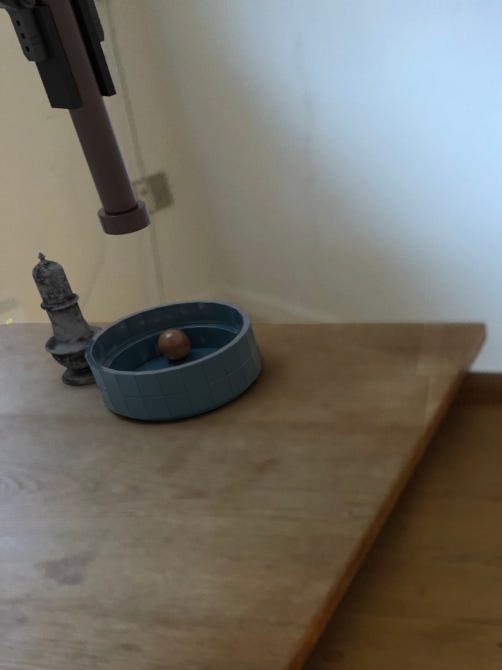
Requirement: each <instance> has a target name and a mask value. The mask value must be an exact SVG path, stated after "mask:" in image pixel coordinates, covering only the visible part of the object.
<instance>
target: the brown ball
mask: <svg viewBox="0 0 502 670" xmlns="http://www.w3.org/2000/svg"><path fill="white" fill-rule="evenodd" d="M158 347H159V350H160V352H161V353H162V354H163V355H164V356H165V357H166V358H168V359H170V360H174V361H176V360H181V359H183V358H185V357H186V356H187V355H188V353H189V351H190V341H189V339H188V337H187V335H186V334H185V333H184V332H182V331H181V330H178V329H167V330H165V331H164V332H163V333H162V334H161V335H160V337H159V340H158Z"/></svg>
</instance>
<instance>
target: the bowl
mask: <svg viewBox="0 0 502 670" xmlns="http://www.w3.org/2000/svg"><path fill="white" fill-rule="evenodd" d="M102 328H103V329H102V330H101V331H99V332H98V333H97V334H96V335H94V336H93V338H92V339H91V341H90V342H89V343H88V345H87V346H86V351H85V358H86V360H87V363H88V365H89V368H90V370H91V373H92V375H93V377H94V380H95V382H94V383H95V386H96V387H97V390H98V392H99V395H100V398H101V400H102V401H103V403H104V405H105V407H106V408H108V409H109V410H110V411H111V412H113V413H115V414H117V415H119V416H120V415H121V416H124V417H128V418H130V419H136V420H139V421H147V422H149V421H150V422H152V421H153V422H161V421H173V420H179V419H184V418H185V419H186V418H190V417H194V416H197V415H201V414H204V413H208V412H210V411H213V410H215V409H217V408H220V407H222V406H224V405H226V404H228V403H230V402H232V401H233V400H234V399H237V398H238V397H239V396H240V395H242V394H243V393H244V392H245V391H246V390H247V389H248V388H249V387H250V386H251V385H252V384H253V383H254V381H255V380H256V379H257V378H258V377H259V374H260V372H261V370H262V367H263V363H262V358H261V354H260V353H261V352H260V350H259V346H258V343H257V339H256V335H255V331H254V328H253V324H252V320H251V317H250V314H249V313H248V312H247V311H246V310H245V309H244V308H243V307H241V306H239V305H238V304H235V303H232V302H229V301H224V300H219V299H188V300H179V301H177V300H176V301H173V302H167V303H162V304H157V305H154V306H150V307H147V308H144V309H139V310H137V311H135V312H131V313H129V314H127V315H125V316H123V317H120V318H118V319H117V320H115V321H113V322H111V323H110V324H108V325H106V326H105V327H102ZM167 329H178V330H181V331H182V332H184V333H185V334H186V335H187V337H188V339H189V341H190V351H189V353H188V355H187V356H186V357H185V358H183V359H181V360H176V361H174V360H170V359H168V358H166V357H165V356H164V355H163V354H162V353H161V352H160V350H159V347H158V340H159V337H160V335H161V334H162V333H163V332H164V331H165V330H167Z"/></svg>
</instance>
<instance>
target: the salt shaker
mask: <svg viewBox="0 0 502 670" xmlns="http://www.w3.org/2000/svg"><path fill="white" fill-rule="evenodd" d="M37 259H39V261H38V263H37V264H35V265H34V266H33V268H32V271H31V276H32V278H33V281H34V283H35V285H36V288H37V291H38V293H39V296H40V298H41V300H42V301H41V303H40V305H39V306H40V308H41V309H42V310H43V311H45V313H46V314H47V317H48V319H49V321H50V324H51V328H52V333H53V335H52V336H51V337H49V338H48V339H47V340H46V341H45V343H44V349H45V351H46V352H48V353H49V354H51V356H52V358H53V359H54V360H55V362H56V363H58V365H60V366H63V367H65V368H66V369H65V370H64V371H63V372H62V374H61V380H62V382H63V383H64V384H66V385H69V386H76V387H77V386H78V387H79V386H85V385H91V384H94V383H96V382H95V380H94V377H93V375H92V373H91V370H90V368H89V365H88V363H87V360H86V358H85V351H86V346H87V345H88V343H89V342H90V341H91V339H92V338H93V336H94V335H96V334H97V333H98V332H99V331H101V330H102V329H103V328H104V327H101V326H99V325H91V324H88V322H87V320H86V319H85V317H84V315H83V312H82V310H81V307H80V305H79V302H78V301H79V299H80V296H79V294H77V293H75V292H73V289H72V287H71V284H70V281H69V280H68V277H67V274H66V272H65V268H63V265H61V264H60V263H59V262H57V261H55V260H49V259H46V255H44V253H42V252H41V251H40V252H38V255H37Z"/></svg>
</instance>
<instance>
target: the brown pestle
mask: <svg viewBox="0 0 502 670" xmlns="http://www.w3.org/2000/svg"><path fill="white" fill-rule="evenodd" d="M35 6H48V8H49V11H50V14H51V17H52V20H53V23H54V26H55V29H56V32H57V34H58V37H59V40H60V43H61V46H62V49H63V52H64V55H65V58H66V61H67V64H68V66H69V69H70V72H71V75H72V78H73V81H74V84H75V87H76V90H77V93H78V96H79V98H80V101H81V104H82V107H81V108H78V109H75V110H71V109H67V110H68V113H69V117H70V119H71V122H72V125H73V128H74V131H75V133H76V136H77V139H78V141H79V145H80V147H81V150H82V154H83V155H84V159H85V161H86V164H87V167H88V170H89V172H90V173H89V174H90V175H91V179H92V182H93V184H94V187H95V190H96V193H97V195H98V198H99V201H100V204H101V207H100V208H99V209H98V210H97V213H96V215H97V218H98V220H99V223H100V226H101V229H102V231H103V233H104V234H106V235H109V236H122V235H128V234H132V233H137V232H139V231H142V230H143V229H146V228H147V227H148V226H150V225H151V223H152V219H151V216H150V213H149V210H148V206H147V204H146V202H145V201H144V200H141V199H137V197H136V194H135V191H134V188H133V184H132V182H131V177H130V175H129V172H128V169H127V166H126V164H125V163H126V162H125V160H124V157H123V154H122V151H121V148H120V145H119V142H118V139H117V136H116V132H115V130H114V126H113V123H112V121H111V118H110V115H109V110H108V109H107V106H106V102H105V100H104V96H102V93H101V90H100V87H99V84H98V81H97V78H96V75H95V72H94V69H93V66H92V63H91V59H90V56H89V53H88V50H87V47H86V44H85V41H84V38H83V35H82V32H81V29H80V26H79V23H78V20H77V17H76V14H75V11H74V8H73V5H72V2H71V0H35Z"/></svg>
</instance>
